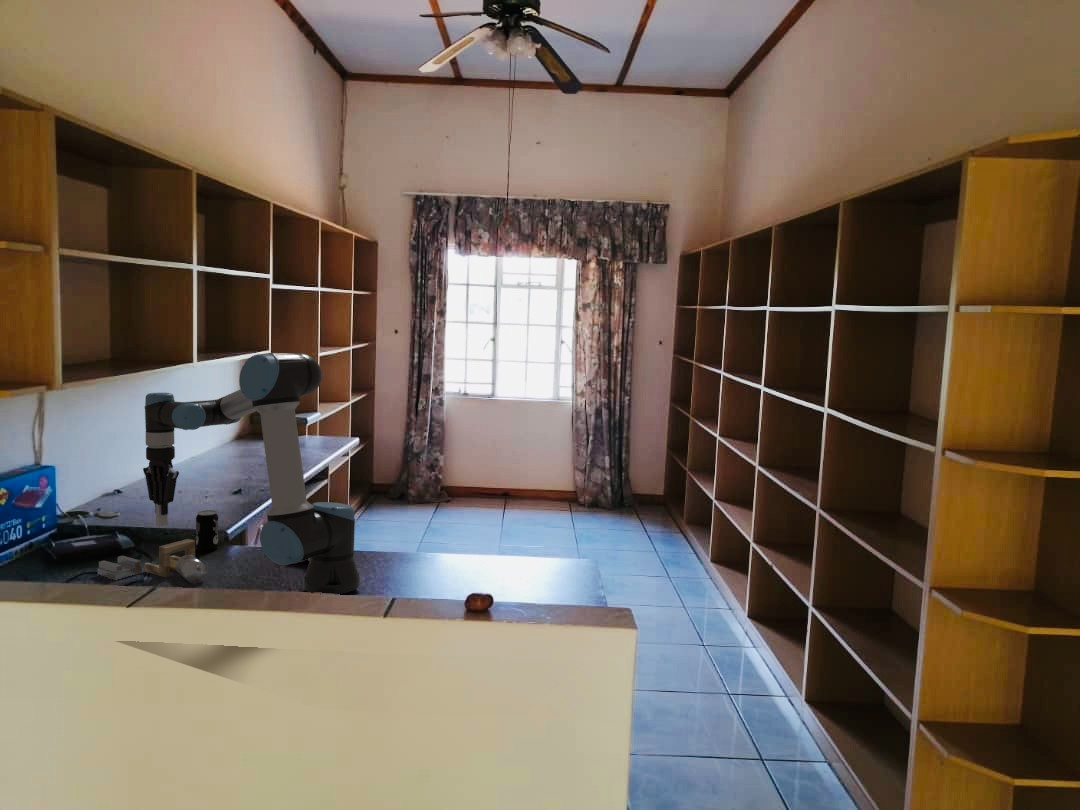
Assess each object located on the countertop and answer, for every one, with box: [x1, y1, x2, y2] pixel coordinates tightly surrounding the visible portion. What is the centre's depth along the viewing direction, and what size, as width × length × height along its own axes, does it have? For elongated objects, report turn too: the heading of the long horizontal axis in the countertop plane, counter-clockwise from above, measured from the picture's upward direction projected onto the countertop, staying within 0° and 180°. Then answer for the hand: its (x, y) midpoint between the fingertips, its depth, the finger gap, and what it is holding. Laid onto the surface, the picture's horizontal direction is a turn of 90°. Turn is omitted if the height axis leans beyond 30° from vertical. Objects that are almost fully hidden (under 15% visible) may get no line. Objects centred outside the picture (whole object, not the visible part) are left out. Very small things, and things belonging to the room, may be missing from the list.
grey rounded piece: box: [176, 554, 209, 585], centre depth 218 cm, size 9×6×6 cm, turn 41°
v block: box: [97, 555, 143, 581], centre depth 219 cm, size 8×8×4 cm
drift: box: [170, 559, 177, 572], centre depth 225 cm, size 10×3×3 cm
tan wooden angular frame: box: [143, 538, 196, 579], centre depth 224 cm, size 10×10×9 cm
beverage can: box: [195, 509, 219, 552], centre depth 246 cm, size 7×7×12 cm
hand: (161, 525), depth 225 cm, fingers closed
